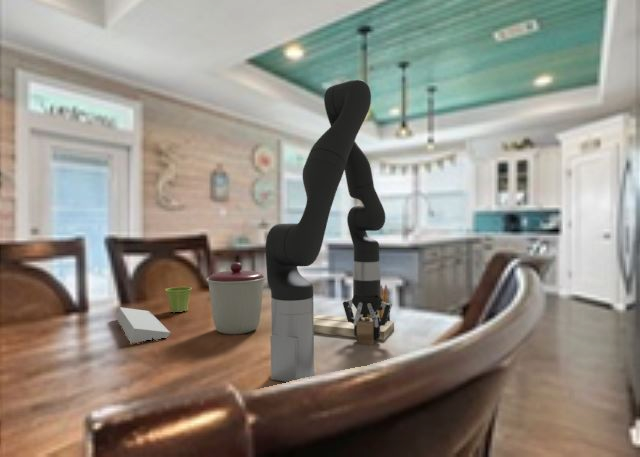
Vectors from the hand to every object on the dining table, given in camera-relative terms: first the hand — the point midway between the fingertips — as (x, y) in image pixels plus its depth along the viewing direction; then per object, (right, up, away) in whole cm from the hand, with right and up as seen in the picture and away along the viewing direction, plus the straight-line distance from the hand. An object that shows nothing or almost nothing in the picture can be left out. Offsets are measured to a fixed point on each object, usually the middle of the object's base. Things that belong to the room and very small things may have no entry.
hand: (367, 338), depth 114 cm
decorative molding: (-70, -2, +17) cm, 73 cm away
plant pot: (-66, -1, +41) cm, 78 cm away
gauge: (+1, -1, +3) cm, 4 cm away
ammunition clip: (+5, -1, +22) cm, 22 cm away
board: (-6, -1, +12) cm, 13 cm away
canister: (-39, -1, +14) cm, 41 cm away
